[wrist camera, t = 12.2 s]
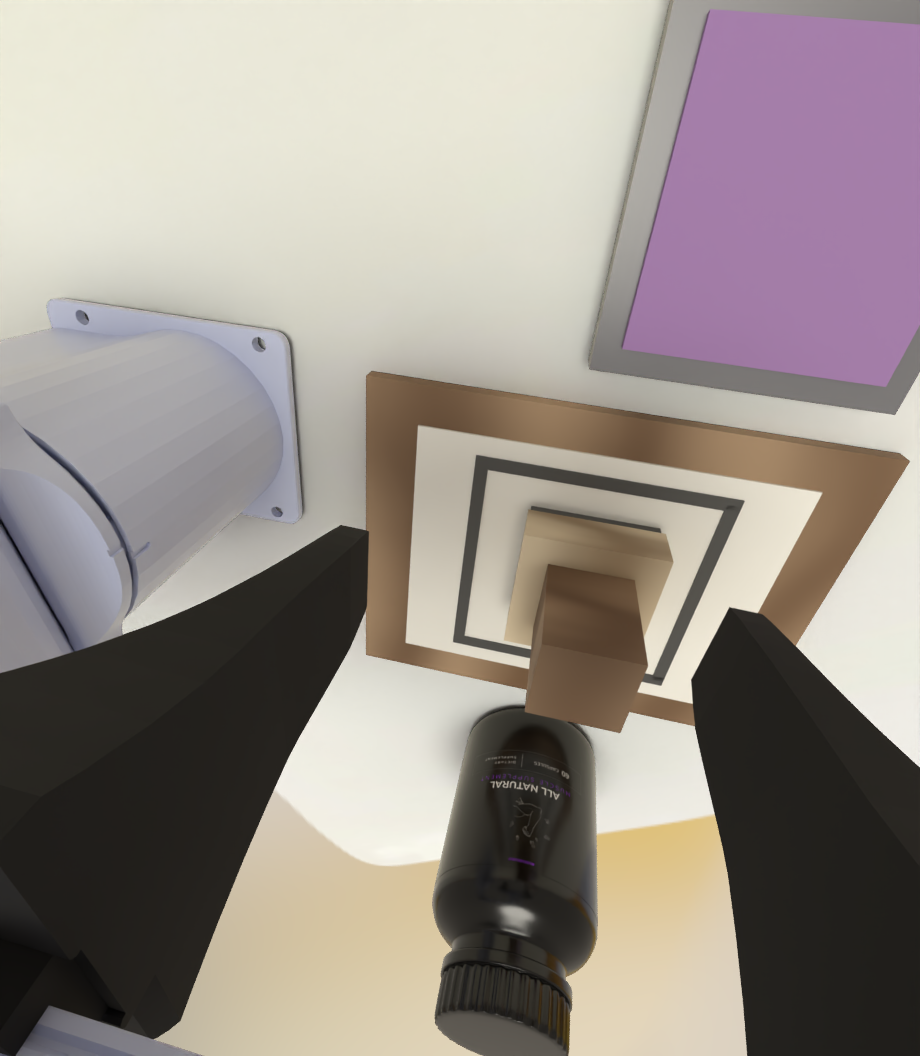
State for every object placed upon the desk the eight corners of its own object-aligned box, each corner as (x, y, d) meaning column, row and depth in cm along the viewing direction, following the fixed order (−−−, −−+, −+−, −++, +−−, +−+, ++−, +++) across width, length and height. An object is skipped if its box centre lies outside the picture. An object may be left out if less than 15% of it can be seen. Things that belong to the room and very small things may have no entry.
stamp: (509, 603, 22) (489, 724, 17) (529, 503, 20) (512, 610, 14) (627, 626, 22) (643, 759, 17) (663, 526, 19) (697, 647, 14)
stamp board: (370, 646, 26) (365, 657, 26) (371, 371, 19) (364, 376, 18) (736, 724, 25) (740, 738, 24) (900, 453, 17) (912, 463, 16)
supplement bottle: (550, 687, 26) (534, 996, 16) (618, 769, 28) (641, 1085, 18) (442, 723, 29) (370, 1002, 19) (511, 795, 31) (479, 1078, 21)
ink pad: (588, 359, 17) (589, 371, 16) (674, -20, 12) (685, -46, 11) (875, 402, 16) (900, 418, 15) (1089, 9, 12) (1152, -16, 10)
